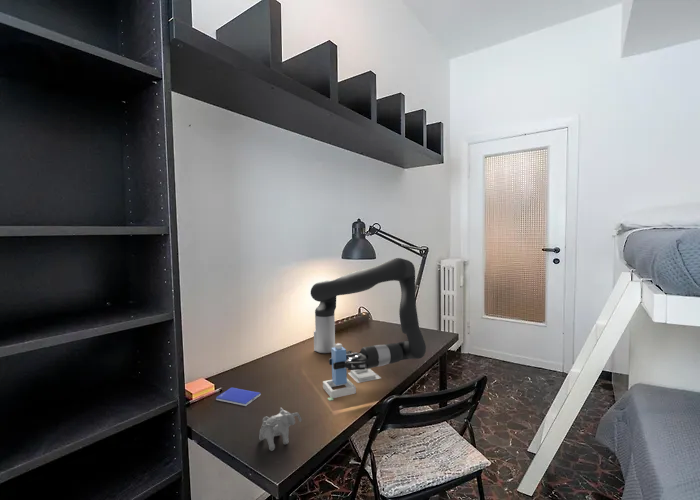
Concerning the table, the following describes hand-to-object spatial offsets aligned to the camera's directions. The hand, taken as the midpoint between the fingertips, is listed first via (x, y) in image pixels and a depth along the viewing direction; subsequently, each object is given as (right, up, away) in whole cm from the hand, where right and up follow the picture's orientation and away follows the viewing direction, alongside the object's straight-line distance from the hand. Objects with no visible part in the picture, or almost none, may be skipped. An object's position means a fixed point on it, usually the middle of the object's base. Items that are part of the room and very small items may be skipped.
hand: (331, 364), depth 123 cm
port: (+3, -11, +2) cm, 11 cm away
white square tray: (+12, -10, +14) cm, 21 cm away
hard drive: (-32, -12, -1) cm, 34 cm away
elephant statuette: (-13, -13, -25) cm, 31 cm away
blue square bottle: (+3, -7, +1) cm, 8 cm away
